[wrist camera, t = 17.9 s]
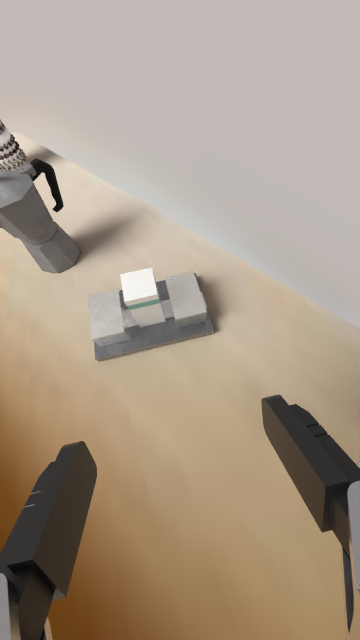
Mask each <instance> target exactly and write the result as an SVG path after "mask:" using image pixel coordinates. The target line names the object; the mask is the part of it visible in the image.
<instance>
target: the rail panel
mask: <svg viewBox="0 0 360 640" xmlns="http://www.w3.org/2000/svg"><path fill="white" fill-rule="evenodd" d="M156 284H157V288H158V292H159V295H160V299H161V303H162V308H163V312H164V316H165V321H166V322H161V323H157V324H153V325H149V326H144V327H139V325H138V324H137V322H136V320H135V319H134V317H133V315H132V314H131V312H130V311H129V309H128V308H127V306H126V304H125V302H124V297H123V290H120V291H119V289H114V290H109V291H105V292H100V293H96V294H92V295H89V310H90V327H91V340H93V341H94V346H95V359H96V360H97V361H103V360H107V359H111V358H116V357H120V356H124V355H128V354H132V353H136V352H140V351H144V350H148V349H152V348H157V347H161V346H165V345H169V344H173V343H177V342H181V341H185V340H189V339H193V338H198V337H202V336H206V335H210V334H214V331H215V330H214V327H213V324H212V321H211V318H210V315H209V312H208V309H207V306H206V303H205V300H204V297H203V294H202V291H201V288H200V285H199V281H198V278H197V275H196V273H194V271H192V272H188V273H183V274H179V275H175V276H170V277H166V278H165V280H164V281H160V282H156Z"/></svg>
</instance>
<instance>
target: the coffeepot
mask: <svg viewBox="0 0 360 640" xmlns="http://www.w3.org/2000/svg"><path fill="white" fill-rule="evenodd" d="M42 172H43V173H45V176H46V180H47V182H48V184H49V186H50V188H51V193H52V196H53V198H54V199H55V201H56V206H55V207H54V208H53V210H54V211H55V212H58V211H60V210H61V209H62V208H63V201H62V198H61V194H60V191H59V187H58V184H57V180H56V176H55V172H54V169H53V168H52V166H51V165H49V164H48V163H45V162H43V161H41V160H39V159H34V160H33V161H31V162H30V163H29V164H26V165H24V166H23V167H21V168H20V169H19V171H14V170H6V171H3V172H1V173H0V228H3V229H4V230H6V231H7V232H8V233H10V234H11V235H12V236H14V237H15V238H19V239H20V240H21V241H22V242H23V244H24V245H25V247H26V248H27V250H28V251H29V252H30V254H31V255H32V257H33V258H34V259H35V261H36V262H37V264H38V265H39V266H40V268H41V269H42V271H47V272H51V273H59V272H62V271H65V270H67V269H69V268H70V267H71V266H73V265H74V264H75V263H76V261H77V260H78V257H79V253H80V250H79V248H78V247H77V245H76V243H75V242H74V241H73V239H72V238H71V237H70V236H69V235H68V234H67V233H66V232H65V231H64V230H63V229H62V228H61V227H60V226H59V225H58V224H57V223H56V222H54V221H53V219H52V217H51V215H50V213H49V212H48V210H47V208H46V206H45V204H44V202H43V200H42V198H41V196H40V195H39V193H38V191H37V189H36V187H35V185H34V183H33V181H34V180H35V179H36V178H37V177H38V176H39V175H40V174H41V173H42Z"/></svg>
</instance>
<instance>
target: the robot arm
mask: <svg viewBox="0 0 360 640" xmlns="http://www.w3.org/2000/svg"><path fill="white" fill-rule="evenodd" d="M262 414H263V425H264V429H265V432H266V434H267V437H268V439H269V440H270V442H271V444H272V446H273V447H274V449H275V451H276V453H277V454H278V456H279V458H280V460H281V461H282V463H283V465H284V467H285V469H286V470H287V472H288V474H289V476H290V477H291V479H292V481H293V483H294V484H295V486H296V488H297V490H298V491H299V493H300V495H301V497H302V498H303V500H304V502H305V504H306V505H307V507H308V509H309V511H310V512H311V514H312V516H313V518H314V519H315V521H316V523H317V525H318V526H319V528H320V530H321V532H326V531H330V530H333V532H334V533H335V535H336V537H337V538H338V540H339V542H340V543H341V545H340V548H341V564H342V581H343V598H344V614H345V634H346V640H360V469H359V467H358V466H357V465H356V464H355V463H354V462H353V461H352V460H351V459H350V457H349V456H348V455H347V454H346V453H345V452H344V451H343V450H342V448H341V447H340V446H339V445H338V444H337V443H336V442H335V441H334V440H333V438H332V437H331V436H330V435H328V434H327V432H326V431H325V430H324V428H323V427H322V426H321V425H319V423H318V422H317V421H316V420H315V418H314V417H313V416H312V415H311V414H310V413H309V412H308V411H306V410H305V409H303V408H301V407H300V406H298V405H297V404H294V405H290V406H289V405H288V404H287V402H286V401H285V400H284V399H283V398H282V396H280V395H274V396H270V397H266V398H262ZM96 478H97V468H96V464H95V462H94V460H93V458H92V456H91V454H90V452H89V450H88V448H87V446H86V444H85V442H83V441H80V442H76V443H72V444H68V445H64V446H63V447H62V448H61V450H60V452H59V454H58V456H57V458H56V460H55V462H51V463H50V464H49V465H48V467H47V468H46V469H45V470H44V472H43V473H42V474H41V475H40V476H39V478H38V480H37V482H36V484H35V486H34V488H33V490H32V492H31V493H32V494H31V495H30V496H29V498H28V500H27V502H26V504H25V508H24V509H23V510H22V512H21V514H20V516H19V518H18V520H17V522H16V524H15V526H14V528H13V530H12V532H11V534H10V536H9V538H8V540H7V541H6V543H5V545H4V547H3V549H2V551H1V553H0V640H53V639H52V634H51V628H50V623H49V619H48V617H47V615H48V612H49V609H50V605H51V602H52V600H56V599H60V598H64V597H66V595H67V591H68V587H69V583H70V579H71V576H72V572H73V568H74V564H75V560H76V556H77V552H78V548H79V545H80V541H81V537H82V533H83V529H84V525H85V521H86V517H87V514H88V510H89V506H90V502H91V498H92V494H93V490H94V486H95V483H96Z"/></svg>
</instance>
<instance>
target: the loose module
mask: <svg viewBox="0 0 360 640" xmlns="http://www.w3.org/2000/svg"><path fill="white" fill-rule="evenodd" d="M121 283H122V290H123V297H124V302H125V304H126V306H127V308H128V309H129V311H130V312H131V314H132V315H133V317H134V319H135V320H136V322H137V324H138V325H139V327H144V326H149V325H153V324H157V323H161V322H166V321H165V316H164V312H163V308H162V303H161V299H160V295H159V292H158V288H157V284H156V281H155V277H154V273H153V270H152V268H148V269H143V270H139V271H134V272H130V273H126V274H121Z"/></svg>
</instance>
